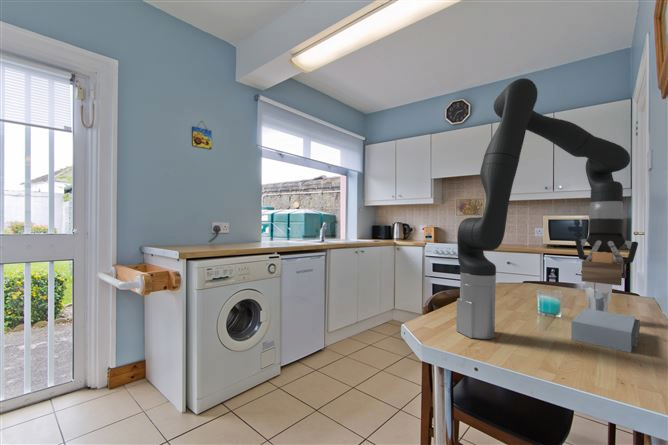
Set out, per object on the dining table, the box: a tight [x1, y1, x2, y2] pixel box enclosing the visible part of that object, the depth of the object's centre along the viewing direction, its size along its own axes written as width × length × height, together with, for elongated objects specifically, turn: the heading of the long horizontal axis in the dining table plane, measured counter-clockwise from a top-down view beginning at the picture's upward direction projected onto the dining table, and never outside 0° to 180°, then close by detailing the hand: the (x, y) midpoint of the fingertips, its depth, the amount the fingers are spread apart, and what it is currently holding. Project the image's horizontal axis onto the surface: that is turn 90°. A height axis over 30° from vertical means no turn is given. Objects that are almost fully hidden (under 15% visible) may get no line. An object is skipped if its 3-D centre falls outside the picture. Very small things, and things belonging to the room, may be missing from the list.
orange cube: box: [592, 252, 613, 263], centre depth 85 cm, size 4×4×4 cm
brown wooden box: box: [581, 260, 627, 287], centre depth 90 cm, size 20×8×6 cm, turn 134°
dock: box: [570, 307, 641, 354], centre depth 89 cm, size 22×13×5 cm, turn 134°
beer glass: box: [584, 281, 613, 312], centre depth 106 cm, size 7×7×15 cm
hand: (604, 275), depth 90 cm, fingers closed on brown wooden box, 5 cm apart
